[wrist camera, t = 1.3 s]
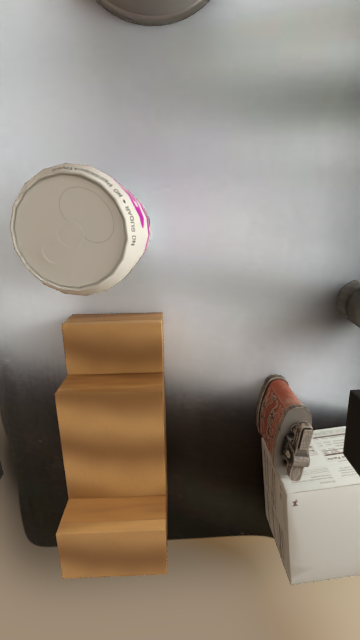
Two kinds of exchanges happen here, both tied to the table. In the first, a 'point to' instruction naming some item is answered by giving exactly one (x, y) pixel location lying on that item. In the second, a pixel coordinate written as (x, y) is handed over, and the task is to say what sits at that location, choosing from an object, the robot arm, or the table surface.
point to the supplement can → (78, 229)
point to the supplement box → (316, 512)
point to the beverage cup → (350, 302)
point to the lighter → (284, 427)
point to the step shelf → (113, 446)
